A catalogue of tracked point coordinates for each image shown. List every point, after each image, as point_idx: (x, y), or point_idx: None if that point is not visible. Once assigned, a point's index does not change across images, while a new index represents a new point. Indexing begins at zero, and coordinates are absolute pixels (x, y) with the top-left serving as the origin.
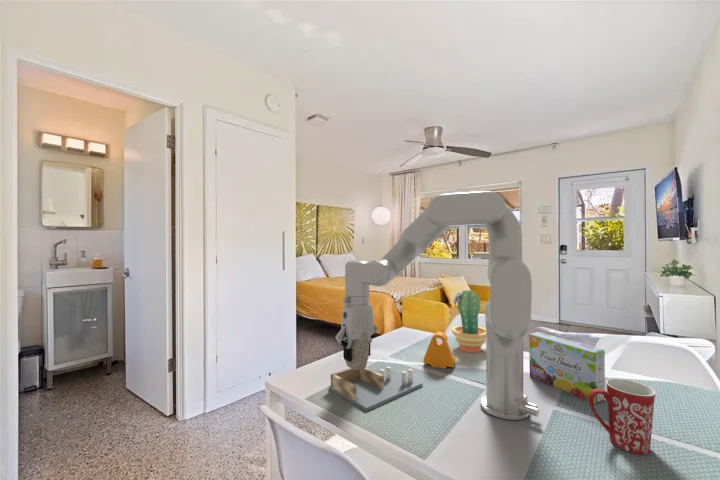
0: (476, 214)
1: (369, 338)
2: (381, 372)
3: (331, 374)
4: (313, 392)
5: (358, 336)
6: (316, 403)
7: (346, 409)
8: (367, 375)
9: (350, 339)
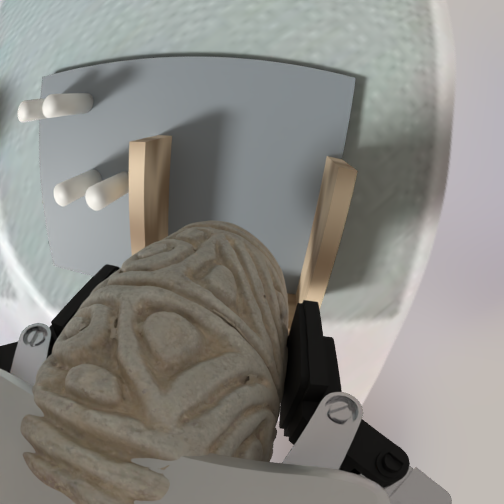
0: None
1: (31, 361)
2: (106, 189)
3: None
4: (349, 327)
5: (223, 499)
6: (406, 270)
7: (387, 156)
8: (156, 239)
9: (376, 483)
